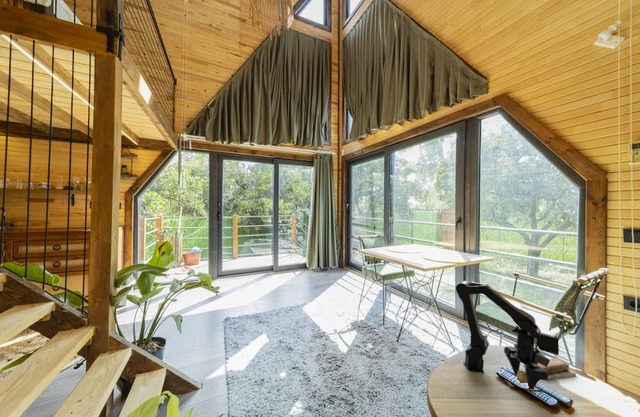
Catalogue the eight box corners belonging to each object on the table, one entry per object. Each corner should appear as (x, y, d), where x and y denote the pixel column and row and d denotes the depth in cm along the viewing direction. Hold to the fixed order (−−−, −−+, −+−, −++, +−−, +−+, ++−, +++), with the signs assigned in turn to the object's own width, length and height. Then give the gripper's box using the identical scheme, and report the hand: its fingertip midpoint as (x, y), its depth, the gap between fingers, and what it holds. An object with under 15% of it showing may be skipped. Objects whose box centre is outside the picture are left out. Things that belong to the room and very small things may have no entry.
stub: (509, 387, 109) (510, 373, 109) (505, 382, 112) (506, 369, 111) (541, 390, 108) (541, 376, 107) (536, 386, 110) (537, 372, 110)
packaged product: (546, 370, 114) (523, 357, 124) (546, 381, 114) (523, 367, 124) (576, 366, 119) (552, 353, 128) (576, 376, 119) (552, 363, 128)
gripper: (564, 360, 99) (562, 400, 99) (530, 335, 118) (528, 370, 118) (533, 357, 100) (531, 397, 101) (504, 333, 119) (502, 367, 119)
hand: (523, 382), depth 110 cm, fingers open, 9 cm apart
